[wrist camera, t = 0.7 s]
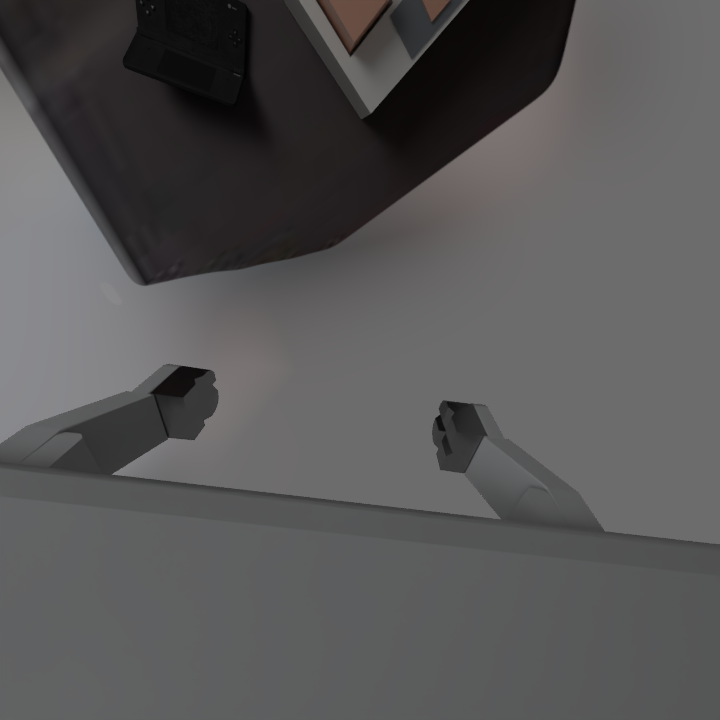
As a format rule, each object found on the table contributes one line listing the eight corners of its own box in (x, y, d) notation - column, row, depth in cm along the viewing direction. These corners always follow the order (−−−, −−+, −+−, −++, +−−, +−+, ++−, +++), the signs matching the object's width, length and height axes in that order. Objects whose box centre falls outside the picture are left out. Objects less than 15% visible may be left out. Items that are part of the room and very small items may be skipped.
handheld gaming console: (241, -32, 28) (218, 30, 26) (259, 60, 35) (242, 117, 32) (122, -57, 28) (85, 4, 25) (164, 43, 34) (139, 99, 32)
